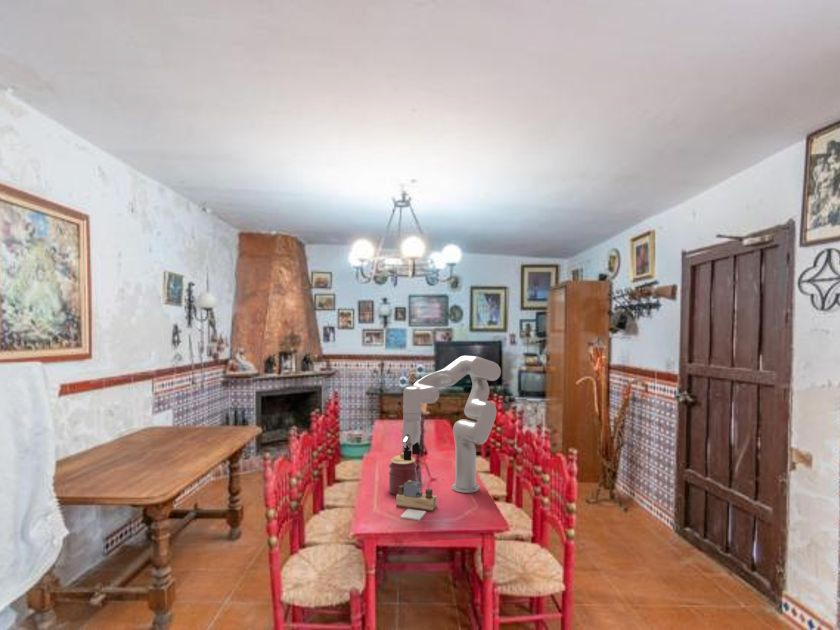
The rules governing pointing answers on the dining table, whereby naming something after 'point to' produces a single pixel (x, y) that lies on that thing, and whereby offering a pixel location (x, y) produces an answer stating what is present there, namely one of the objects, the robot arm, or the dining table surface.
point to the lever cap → (411, 488)
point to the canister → (401, 472)
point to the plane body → (417, 500)
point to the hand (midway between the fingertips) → (411, 457)
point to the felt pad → (413, 514)
